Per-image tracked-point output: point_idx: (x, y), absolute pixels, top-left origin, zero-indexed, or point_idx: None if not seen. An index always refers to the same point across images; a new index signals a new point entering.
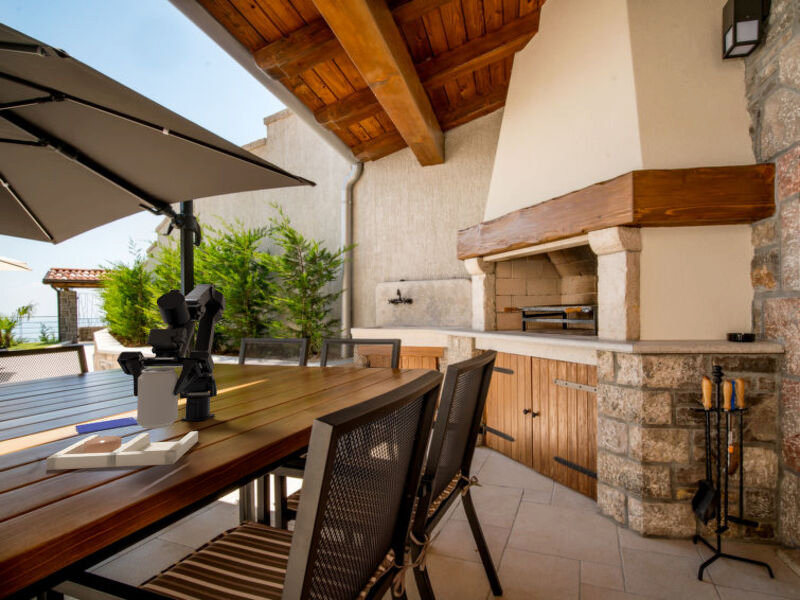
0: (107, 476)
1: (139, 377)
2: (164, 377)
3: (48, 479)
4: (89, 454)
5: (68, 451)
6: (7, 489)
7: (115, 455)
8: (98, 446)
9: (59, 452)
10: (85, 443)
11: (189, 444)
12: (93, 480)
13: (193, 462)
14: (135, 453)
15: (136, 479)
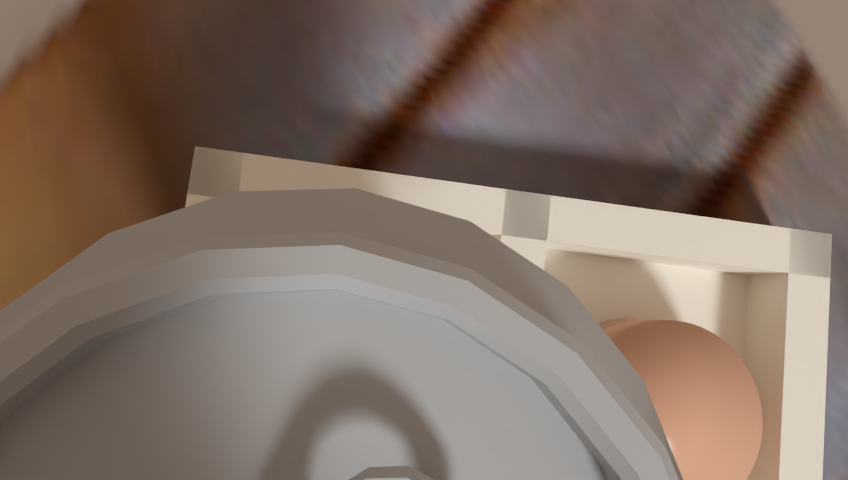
0: (489, 114)
1: (639, 402)
2: (82, 264)
3: (723, 148)
4: (648, 234)
5: (784, 326)
6: (818, 80)
7: (508, 191)
8: (651, 321)
9: (819, 312)
10: (745, 381)
11: None
12: (530, 82)
13: (118, 196)
14: (409, 189)
15: (345, 40)
